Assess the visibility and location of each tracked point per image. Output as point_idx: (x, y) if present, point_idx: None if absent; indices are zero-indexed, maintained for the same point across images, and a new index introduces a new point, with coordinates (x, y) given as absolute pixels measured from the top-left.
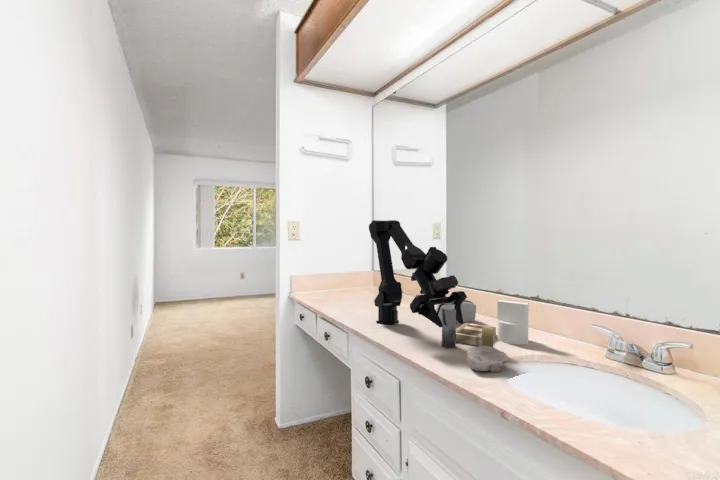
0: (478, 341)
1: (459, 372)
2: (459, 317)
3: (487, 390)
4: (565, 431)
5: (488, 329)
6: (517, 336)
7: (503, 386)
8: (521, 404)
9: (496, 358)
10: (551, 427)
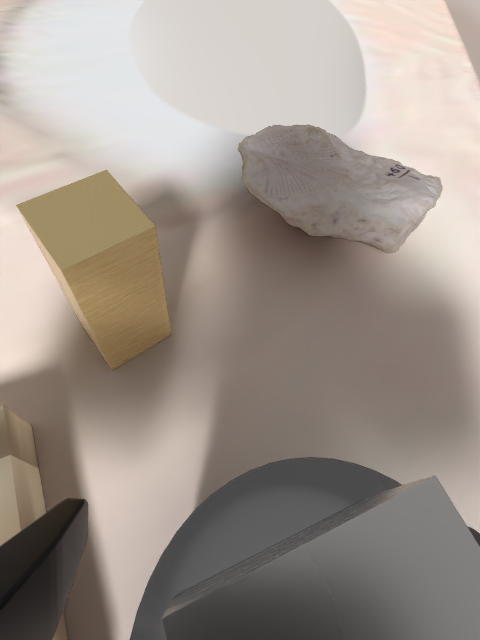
0: (22, 437)
1: (461, 244)
2: (43, 580)
3: (455, 136)
4: (424, 22)
5: (125, 195)
6: None
7: (390, 127)
8: (423, 77)
9: (313, 150)
10: (437, 33)
